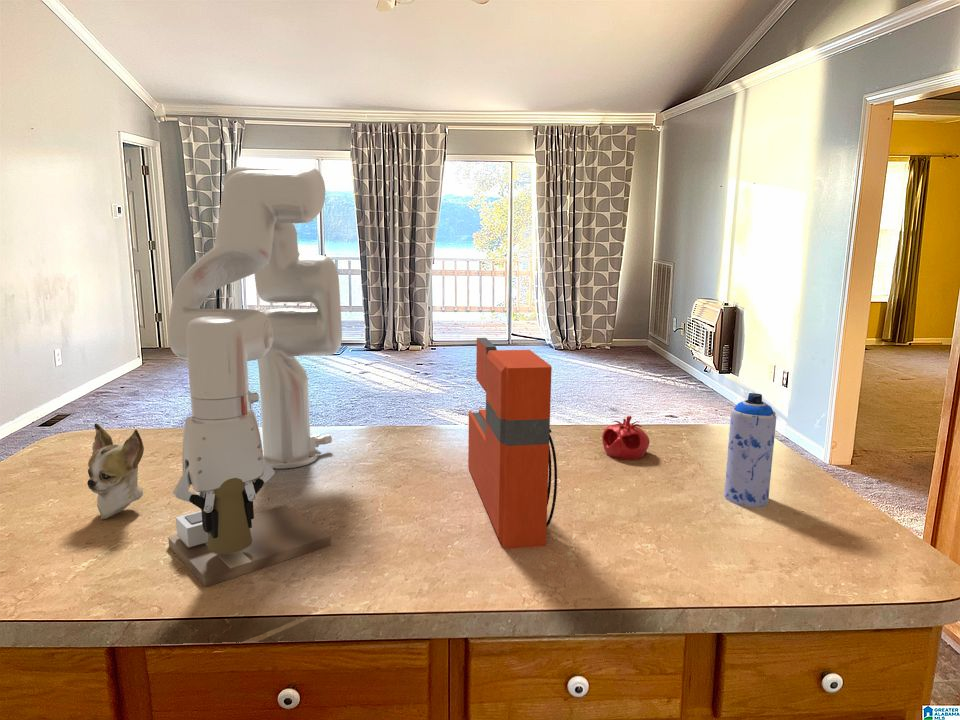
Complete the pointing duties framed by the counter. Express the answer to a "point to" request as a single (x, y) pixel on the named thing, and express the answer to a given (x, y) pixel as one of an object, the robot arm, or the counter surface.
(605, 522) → the counter surface
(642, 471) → the counter surface
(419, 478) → the counter surface
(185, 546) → the board
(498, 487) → the toy gas pump
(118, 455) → the ceramic sculpture
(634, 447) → the pomegranate
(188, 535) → the white box with button
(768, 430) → the aerosol can
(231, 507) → the olive pawn figure
